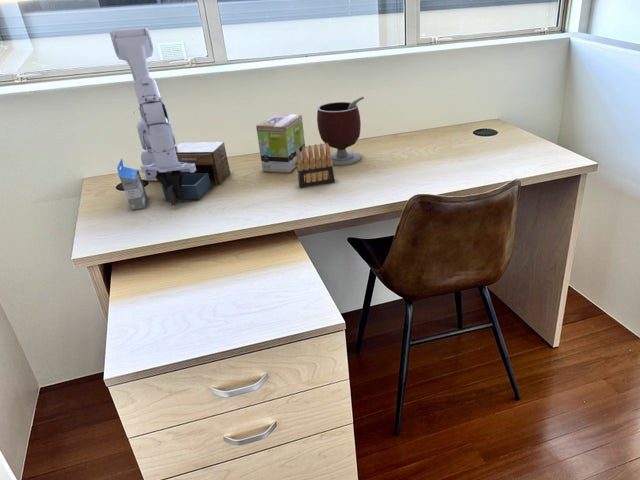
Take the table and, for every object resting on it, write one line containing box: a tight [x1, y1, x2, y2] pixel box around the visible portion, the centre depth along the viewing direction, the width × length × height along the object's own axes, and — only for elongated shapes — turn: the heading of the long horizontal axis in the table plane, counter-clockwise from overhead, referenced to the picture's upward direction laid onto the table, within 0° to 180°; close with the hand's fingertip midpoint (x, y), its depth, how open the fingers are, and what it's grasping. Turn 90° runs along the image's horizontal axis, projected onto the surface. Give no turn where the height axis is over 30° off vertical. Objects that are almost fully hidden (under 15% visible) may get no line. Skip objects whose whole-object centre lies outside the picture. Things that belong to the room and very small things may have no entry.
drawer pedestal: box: [174, 141, 231, 186], centre depth 171 cm, size 12×14×10 cm
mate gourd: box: [316, 96, 365, 166], centre depth 181 cm, size 16×14×20 cm
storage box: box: [161, 173, 212, 206], centre depth 160 cm, size 10×16×6 cm, turn 176°
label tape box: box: [116, 157, 148, 211], centre depth 156 cm, size 9×4×12 cm, turn 16°
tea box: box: [255, 113, 306, 173], centre depth 180 cm, size 15×10×15 cm
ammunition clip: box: [296, 142, 336, 189], centre depth 164 cm, size 11×2×12 cm, turn 111°
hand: (176, 196), depth 156 cm, fingers closed on storage box
